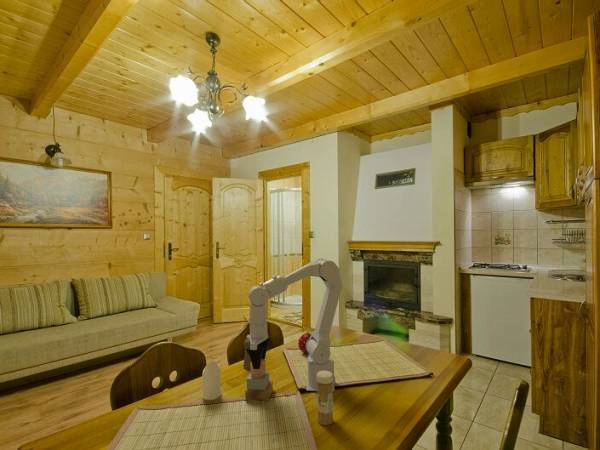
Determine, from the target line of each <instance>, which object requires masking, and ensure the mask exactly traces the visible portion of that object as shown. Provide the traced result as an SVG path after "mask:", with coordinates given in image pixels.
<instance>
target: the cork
mask: <svg viewBox="0 0 600 450" xmlns="http://www.w3.org/2000/svg"><path fill="white" fill-rule="evenodd" d="M243 346H244V348H245V350H244V357H243V358H244V359H243V366H242V367H243V369H244V370H246V371H251V364H250V362H251V359H250V356H249V354H248V353H247V351H246V348H247V347H248V346H250V339H247V338H246V339H245V340H244V342H243Z"/></svg>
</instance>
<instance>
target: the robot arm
mask: <svg viewBox="0 0 600 450" xmlns="http://www.w3.org/2000/svg"><path fill="white" fill-rule="evenodd" d="M340 272H341V269H340V268H339V266H338V265H337V263H335V261H333V260H327V259H326V258H325V259H324V258H318V259H316V260H313V261H311V262H309V263H307V264H305V265H303V266H301V267H300V268H298V269H296V270H294V271H292V272H290V273H288V274H287V275H285V276H282V275H273V276H271V278H270V279H269V280H267V281H265V282H262V281H261V282H260V283H259V285H254V286H252V287H251V288H250V289H249V291H248V294H247V297H248V299H249V334H247V336H246V339H250V346H248V347H247V348H246V351H247V353H248V354H249V356H250V359H251V362H252V366H253V369H260V366H261V359H264V360H266V356H267V348H268V345H269V342H270V339H271V336H270V335H268V317H267V316H268V313H267V301H269V300H271V299H273V298H274V297H276V296H278V295H280V294H282V293H284V292H286V291H287V289H288V287H289V286H291V285H292V284H295V283H296V282H299V281H302V280H303V279H305V278H308V277H315V278H320V279H321V280H322V282H323V284H324V286H325V287H326V288H325V292H324V296H323V298H322V302H321V307H320V311H319V314H318V317H317V321H316V324H315V329H314V331H312V332H311V333H310V334H311V337H310V338H309V340H308V341H307V343H306V350H307V352H308V353H309V354H308V356H307V382H306V387H308V388H306V387H305V389H306V390H305V391H307V392H318V390H317V373H318V372H319V371H329V372H331V373H332V376H333V381H332V392H333V393H334V392H335V383H336V376H335V360H332V359H330V357H331V344H332V343H331V338H330V334H331V329H332V326H333V322H334V319H335V315H336V310H337V308H338V304H339V300H340V296H341V292H342V288H343V283H342V278H341V273H340Z"/></svg>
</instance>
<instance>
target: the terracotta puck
mask: <svg viewBox="0 0 600 450" xmlns="http://www.w3.org/2000/svg"><path fill="white" fill-rule="evenodd" d="M250 364H251V370H250V373H251V377H252V378H254V379H260V378H263V377H265V376H266V371H267V369H266V368H267V365H266V359H261V366H260V369H253V366H252V362H250Z"/></svg>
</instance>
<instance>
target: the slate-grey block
mask: <svg viewBox="0 0 600 450" xmlns="http://www.w3.org/2000/svg"><path fill="white" fill-rule="evenodd" d="M269 380H270V372H269V370H266V376H265V377H263V378H260V379H254V378H252V377H251V372H249V374H248V376H247V378H246V389H247V390H265V389H266V387H267V385H268V383H269Z"/></svg>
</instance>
